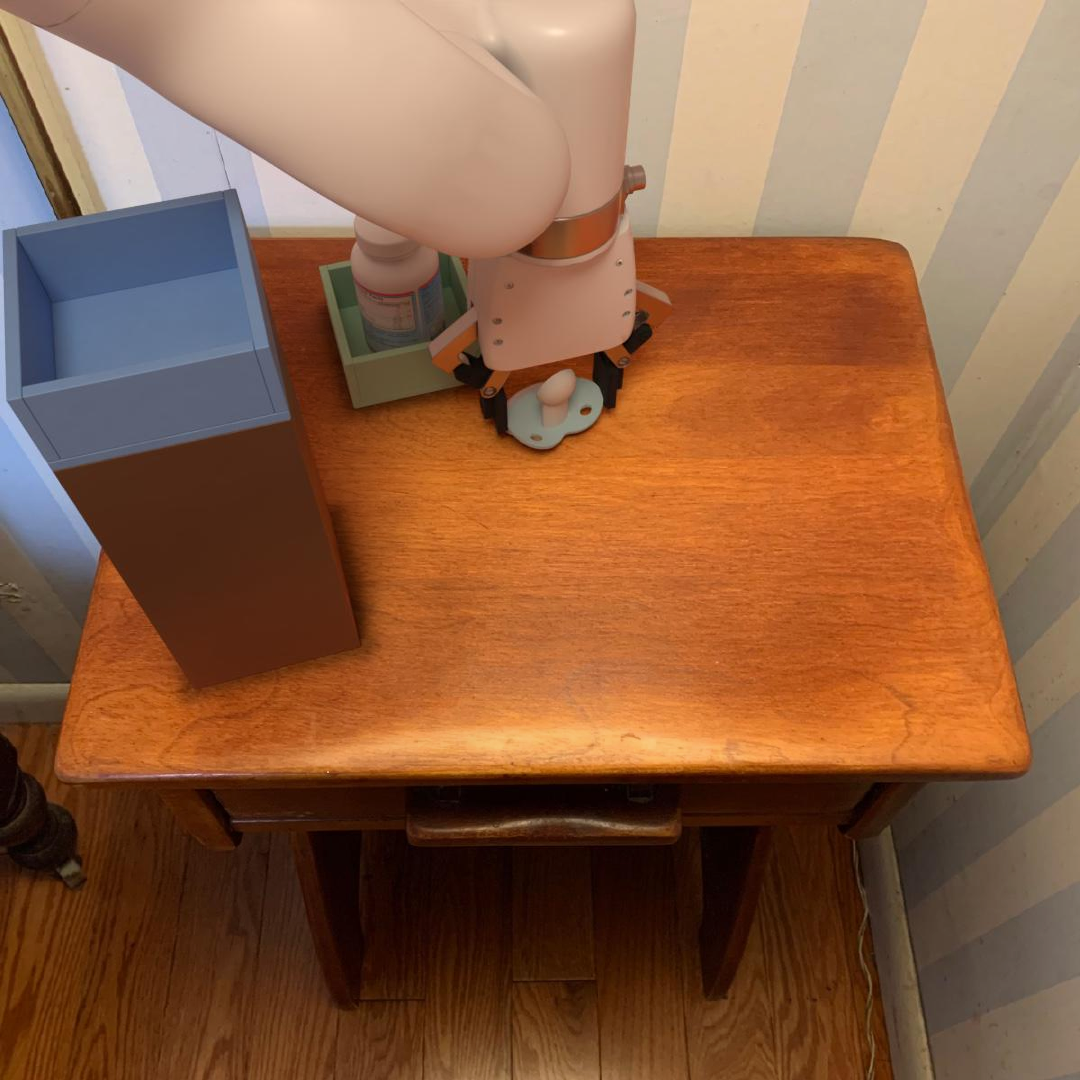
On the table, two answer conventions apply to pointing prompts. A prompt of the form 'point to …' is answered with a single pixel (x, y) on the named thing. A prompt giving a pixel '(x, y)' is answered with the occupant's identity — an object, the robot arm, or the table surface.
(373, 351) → the pill bottle
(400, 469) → the table surface
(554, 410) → the pacifier
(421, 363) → the green bin
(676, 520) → the table surface
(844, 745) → the table surface
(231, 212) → the blue bin
